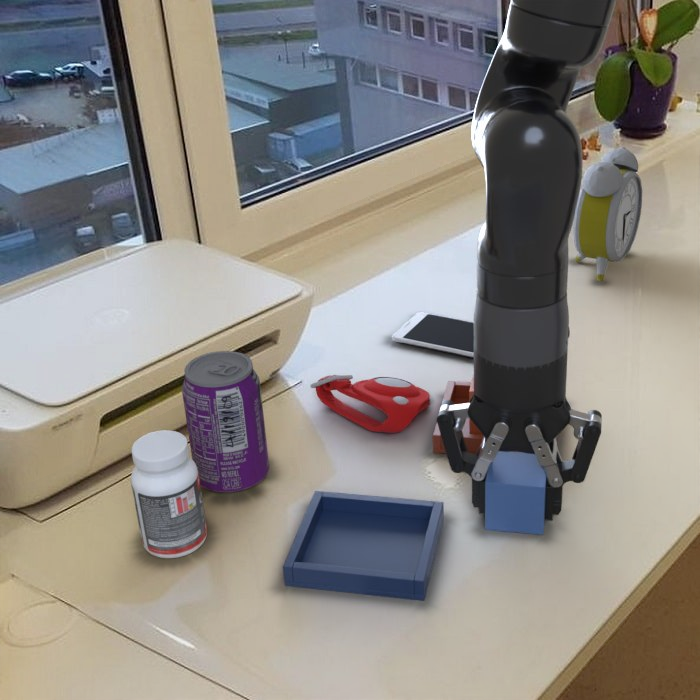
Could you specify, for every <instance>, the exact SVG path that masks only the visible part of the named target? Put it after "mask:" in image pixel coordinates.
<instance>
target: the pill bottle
mask: <svg viewBox="0 0 700 700" xmlns="http://www.w3.org/2000/svg"><path fill="white" fill-rule="evenodd" d="M131 446H132V447H131V457H132V462H133V465H134V468H133V469H132V471H131V475H130V486H131V490H132V495H133V501H134V507H135V512H136V517H137V523H138V527H139V528H138V529H139V533H140V537H141V538H140V539H141V542H142V546H143V548H144V549H145V551H147V552H148V554H150V555H152V556H154V557H156V558H161V559H162V558H163V559H175V558H182V557H184V556H185V557H186V556H188V555H190V554H192V553H194V552H195V551H197V550H198V549H199V548H200V547H201V546H202V545H204V543H205V541H206V539H207V536H208V526H207V520H206V513H205V507H204V501H203V495H202V494H203V493H202V488H201V485H200V481H199V474H198V469H197V466H196V464H195V462H194V461H193V460H192V457H190V448H189V443H188V439H187V438H186V436H185V435H184V434H183V433H181V432H179V431H175V430H168V429H163V430H156V431H151V432H148V433H146V434H144V435H142V436H140V437H139V438H138V439H136V440H135V441H134V443H133V444H132V445H131Z"/></svg>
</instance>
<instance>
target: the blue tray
mask: <svg viewBox="0 0 700 700" xmlns="http://www.w3.org/2000/svg"><path fill="white" fill-rule="evenodd" d="M444 507H445V506H444V501H436V500H435V501H434V500H426V499H416V498H415V499H413V498H412V499H411V498H403V497H390V496H379V495H370V494H369V495H368V494H359V493H358V494H356V493H347V492H346V493H344V492H333V491H323V490H322V491H321V490H315V491H314V492H313V494H312V497H311V499H310V502H309V504H308V507H307V509H306V511H305V513H304V516H303V518H302V521H301V523H300V526H299V527H298V531H297V532H296V534H295V538H294V539H293V542H292V544H291V547H290V549H289V551H288V553H287V556H286V558H285V561H284V563H283V565H282V572H283V581H284V586H286V587H295V588H302V589H303V588H305V589H314V590H321V591H322V590H323V591H329V592H330V591H331V592H340V593H347V594H348V593H349V594H359V595H368V596H375V597H376V596H377V597H384V598H385V597H386V598H395V599H405V600H412V601H413V600H414V601H423V602H424V601H426V597H427V596H426V595H427V592H428V589H429V583H430V580H431V575H432V571H433V567H434V563H435V559H436V554H437V550H438V546H439V542H440V537H441V534H442V529H443V526H444V525H443V524H444V521H445V516H444V515H445V514H444V513H445V512H444V509H445V508H444Z"/></svg>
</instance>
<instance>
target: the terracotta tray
mask: <svg viewBox="0 0 700 700" xmlns="http://www.w3.org/2000/svg"><path fill="white" fill-rule="evenodd" d="M471 382H472V381H471ZM471 382H470V381H469V382H468V381H454V380H448V381H447V384H446V387H445V391H444V395H443V398H442V402H443V401H444V400H450V401H452V402H453V403H454V405H456V404H464V403H469V390H470V386H471ZM442 402H441V403H442ZM462 433H463V436H464V440H465V444H466V447H467V451H468V452H470V453H472V454H475V455H476V454H477V452H478V449H479V447H480V445H481V443H482V440H483V437H484V435H478V434H469V418H467V419H465V424H464V428H463V429H462ZM555 439H556V442H557V440H558V436H557V437H556V438H555ZM557 443H558V442H557ZM432 452H433V453H435V454H446V451H445V447H444V444H443V441H442V437H441V434H440V430H439V427H438V423H437V421H436V422H435V426H434V429H433V433H432ZM511 452H521V451H511ZM523 453H524V452H523Z"/></svg>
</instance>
